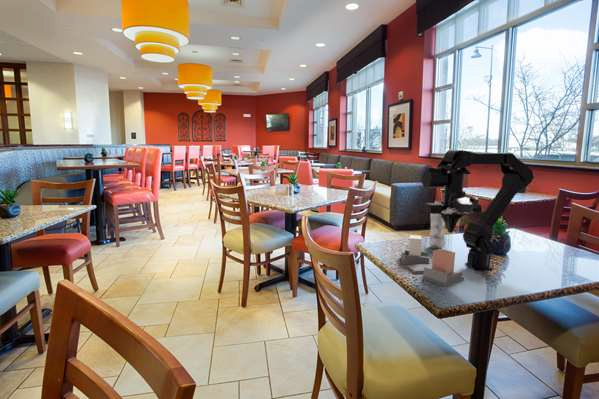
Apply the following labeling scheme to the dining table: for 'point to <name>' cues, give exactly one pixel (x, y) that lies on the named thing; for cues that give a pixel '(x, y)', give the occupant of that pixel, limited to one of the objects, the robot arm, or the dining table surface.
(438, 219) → the plastic bottle
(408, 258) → the grey tray
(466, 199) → the robot arm
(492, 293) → the dining table surface
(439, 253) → the terracotta key
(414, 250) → the cream key
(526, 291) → the dining table surface
